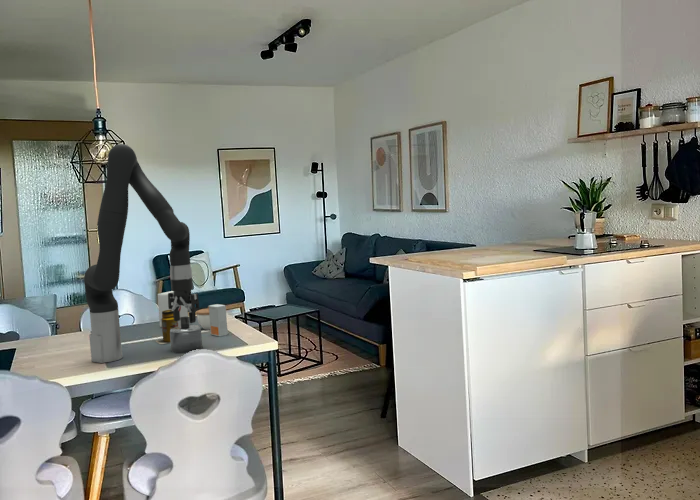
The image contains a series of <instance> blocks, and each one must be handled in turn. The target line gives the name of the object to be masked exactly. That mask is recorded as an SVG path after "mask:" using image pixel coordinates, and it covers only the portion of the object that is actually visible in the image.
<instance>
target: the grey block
mask: <svg viewBox="0 0 700 500" xmlns="http://www.w3.org/2000/svg"><path fill="white" fill-rule="evenodd" d="M170 341H171V343H170V351H171V352H172V353H175V354H187V353H186V352H188V353H190V352H189V351H192V350H196V349H200V350H202V349H203V337H202V327H200V330H198V331H195V332H189V333H171V332H170Z"/></svg>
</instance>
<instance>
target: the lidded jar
mask: <svg viewBox="0 0 700 500" xmlns="http://www.w3.org/2000/svg"><path fill="white" fill-rule="evenodd" d="M209 306H210V305H208V306H207V308H202V309H199V310H197V311H196V317H197V318H196V320H197V322H198V325H199V326H200V328H201V329H203V330H206V331H209V330H210V331H211V329H210V315H209Z"/></svg>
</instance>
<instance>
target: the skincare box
mask: <svg viewBox="0 0 700 500" xmlns="http://www.w3.org/2000/svg"><path fill="white" fill-rule="evenodd" d="M208 306H209V315H210V329H211V330H210V335H211V336H216V337H220V338H221V337H223V336H227V335H228V319H227V318H228V317H227V307H226V304H219V303H216V304H215V303H214V304H210V305H208Z"/></svg>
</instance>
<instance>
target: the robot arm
mask: <svg viewBox="0 0 700 500" xmlns="http://www.w3.org/2000/svg"><path fill="white" fill-rule="evenodd" d="M137 157H138V156H136V152H135V151H134V149H133V148H132V147H131V146H129V145H127V144H125V143H117V144H116V145H114V146H113V147H112V148H110V150H109V152H108V154H107V171H106V172H107V173H106V180H105V185H104V186H105V187H104V190H103V193H102V196H101V197H102V198H101V201H100V202H101V203H100V206H99V212H98V216H97V224H96V227H97V229H96V230H97V236H98V245H99V250H98V251H99V252H98V257H97V262H96V264H92V265H91V266H88V268H87V269H86V271H85V272H84V277H83V283H84V290H85V291H84V292H85V298H86V299H85V300H86V303H87V306H88V309H89V319H90V329H91V330H90V331H91V332H90V334H89V335H88V336H89V337H88V338H89V347H90V358H91V362H93V363H99V364H103V363H111V362H115V361H119V360H122V359H123V347H122V336H121V327H120V326H121V325H120V315H119V313H120V311H119V304H118V303H119V302H118V301H117V299H116V298H115V297H114V293H113V290H115V288H116V287H117V285H118V284H119V281H120V272H121V271H120V269H121V255H122V247H123V243H124V237H125V236H124V235H125V230H126V225H127V219H128V215H129V214H128V212H129V185H130V186H131V188H132V189H133V190H134V191H135V193H136V195H138V197H139V199H140V200H141V202H142V204H143V205H144V206H145V207H146V208H147V210H148V211H149V213H150V214H151V215H152V216H153V218H154V220H156V222H157V223H158V225H159V228H160V229H161V230H162V232H163V234H164V235H165V236H166V238H167V239H168V240H170V250H169V267H170V268H169V275H170V287H171V288H170V289H171V291H173V292H172V293H168V308H169V309H172V311H173V316H174V321H179V320H180V311H179V308H180V306H181V305H182V306H185V308H187V309H188V317H189V324H194V323H196V321H197V318H196V317H197V314H196V313H197V311H198V310H201V309H200V301H199V294H198V293H194V294H193V293H192V290H193V289H194V283H193V271H192V267H191V265H192V264H191V257H190V241H191V240H190V239H191V238H190V237H191V236H190V228H189V227H188V225H187V223H185V222H183V221H181V220H180V219H178V217H177V215H176V214H175V212H174V209H173V207H172V206H171V204H170V203H169V202H168V200H167V199H166V198H165V196H163V194H162V193H161V192H160V191H159V189H158V188H157V187H156V186H155V185H154V184H153V183H152V181H151V180H150V179H149V178H148V177H147V175H146V174H145V172H144V171H143V168H141V165H140V163H139V162H138V158H137ZM172 302H173V305H171V303H172Z"/></svg>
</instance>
